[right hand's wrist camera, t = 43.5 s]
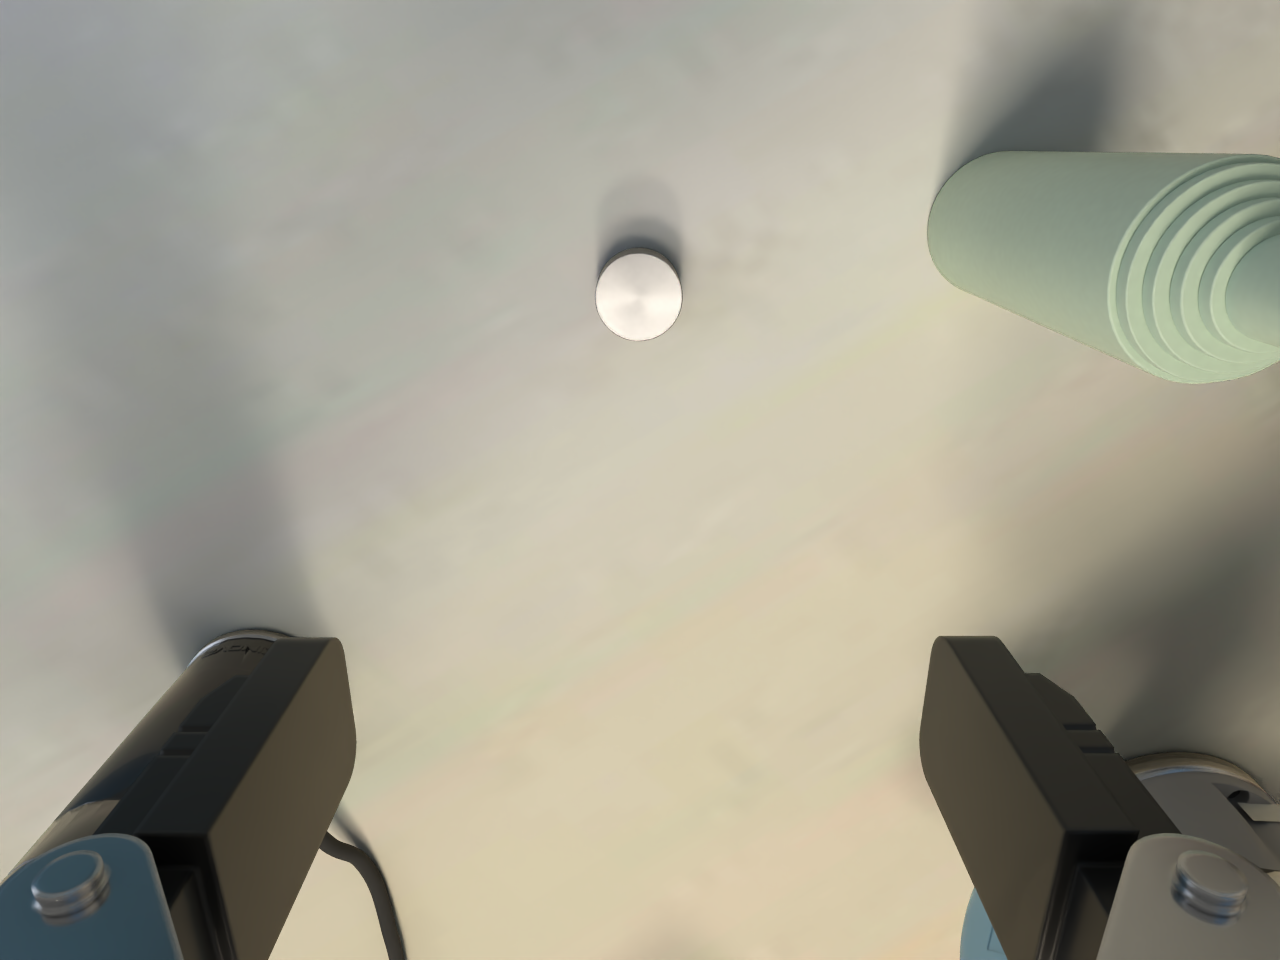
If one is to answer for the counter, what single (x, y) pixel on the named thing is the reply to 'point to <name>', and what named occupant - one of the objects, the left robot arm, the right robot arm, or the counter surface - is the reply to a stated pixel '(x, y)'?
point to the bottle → (1125, 253)
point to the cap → (638, 294)
